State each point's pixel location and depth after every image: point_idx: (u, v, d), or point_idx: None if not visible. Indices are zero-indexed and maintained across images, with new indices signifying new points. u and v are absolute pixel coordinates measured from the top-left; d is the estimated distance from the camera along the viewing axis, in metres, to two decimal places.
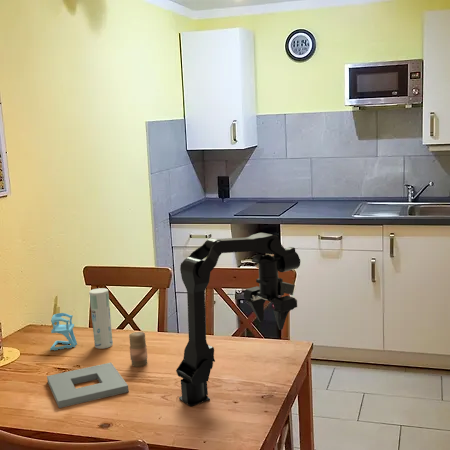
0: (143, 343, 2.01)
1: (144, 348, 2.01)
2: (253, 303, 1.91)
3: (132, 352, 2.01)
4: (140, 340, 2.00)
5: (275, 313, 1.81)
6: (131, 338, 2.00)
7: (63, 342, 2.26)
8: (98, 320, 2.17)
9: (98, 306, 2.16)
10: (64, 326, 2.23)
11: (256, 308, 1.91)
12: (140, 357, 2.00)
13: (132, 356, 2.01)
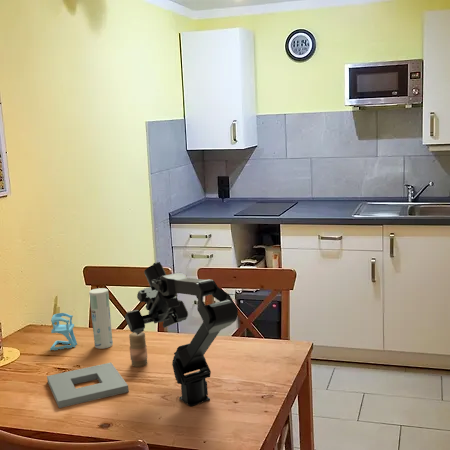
0: (143, 343, 2.01)
1: (144, 348, 2.01)
2: None
3: (132, 352, 2.01)
4: (140, 340, 2.00)
5: (175, 323, 1.93)
6: (131, 338, 2.00)
7: (63, 342, 2.26)
8: (98, 320, 2.17)
9: (98, 306, 2.16)
10: (64, 326, 2.23)
11: None
12: (140, 357, 2.00)
13: (132, 356, 2.01)
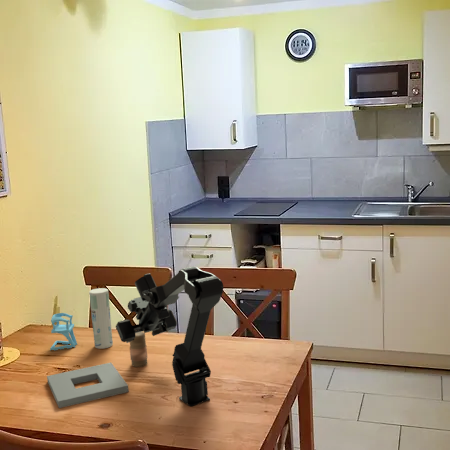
0: (143, 343, 2.01)
1: (144, 348, 2.01)
2: None
3: (132, 352, 2.01)
4: (140, 340, 2.00)
5: (164, 331, 1.98)
6: None
7: (63, 342, 2.26)
8: (98, 320, 2.17)
9: (98, 306, 2.16)
10: (64, 326, 2.23)
11: None
12: (140, 357, 2.00)
13: (132, 356, 2.01)
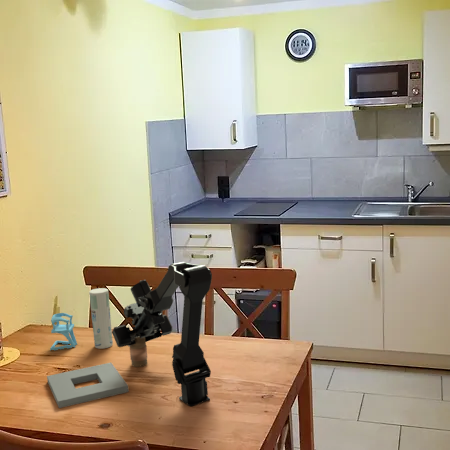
0: (143, 343, 2.01)
1: (144, 348, 2.01)
2: None
3: (132, 352, 2.01)
4: (140, 340, 2.00)
5: (155, 338, 2.00)
6: None
7: (63, 342, 2.26)
8: (98, 320, 2.17)
9: (98, 306, 2.16)
10: (64, 326, 2.23)
11: None
12: (140, 357, 2.00)
13: (132, 356, 2.01)
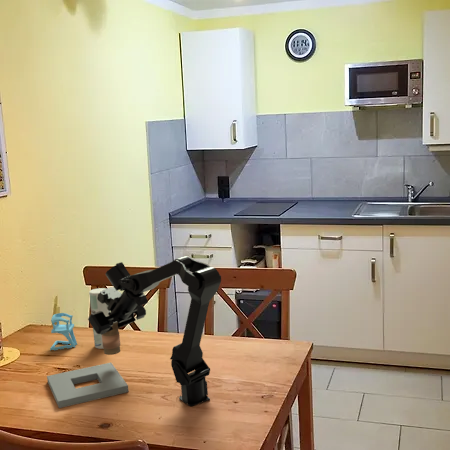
0: (117, 329, 1.94)
1: (118, 334, 1.95)
2: None
3: (106, 340, 1.93)
4: (114, 327, 1.93)
5: (129, 323, 1.95)
6: None
7: (63, 342, 2.26)
8: None
9: (98, 306, 2.16)
10: (64, 326, 2.23)
11: None
12: (115, 344, 1.94)
13: (106, 344, 1.94)
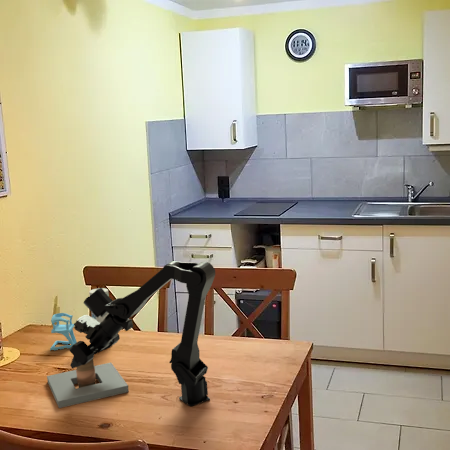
0: (93, 363, 1.87)
1: (94, 368, 1.87)
2: None
3: (83, 375, 1.85)
4: (91, 360, 1.86)
5: (107, 348, 1.90)
6: None
7: (63, 342, 2.26)
8: (98, 320, 2.17)
9: None
10: (64, 326, 2.23)
11: None
12: (92, 378, 1.86)
13: (83, 379, 1.85)
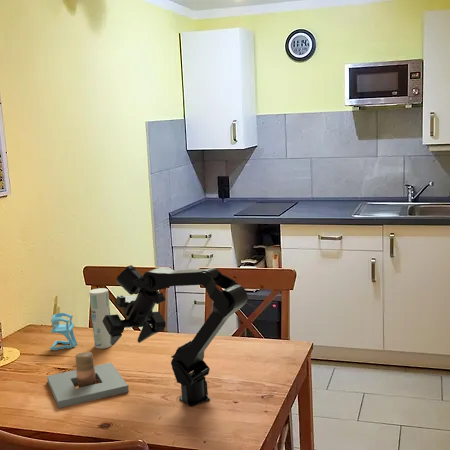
0: (93, 363, 1.87)
1: (94, 368, 1.87)
2: None
3: (83, 375, 1.85)
4: (91, 360, 1.86)
5: (152, 333, 1.87)
6: (81, 360, 1.84)
7: (63, 342, 2.26)
8: (98, 320, 2.17)
9: (98, 306, 2.16)
10: (64, 326, 2.23)
11: None
12: (92, 378, 1.86)
13: (83, 379, 1.85)
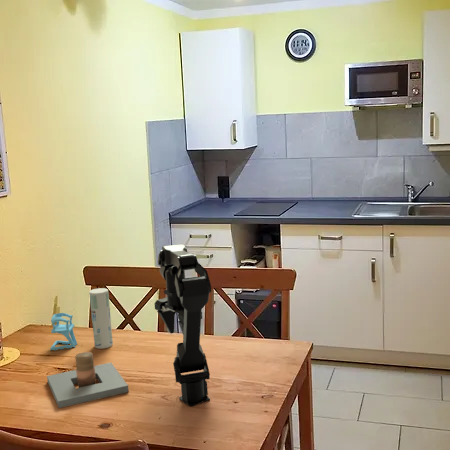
0: (93, 363, 1.87)
1: (94, 368, 1.87)
2: (163, 314, 1.90)
3: (83, 375, 1.85)
4: (91, 360, 1.86)
5: (180, 325, 1.81)
6: (81, 360, 1.84)
7: (63, 342, 2.26)
8: (98, 320, 2.17)
9: (98, 306, 2.16)
10: (64, 326, 2.23)
11: (166, 319, 1.91)
12: (92, 378, 1.86)
13: (83, 379, 1.85)
